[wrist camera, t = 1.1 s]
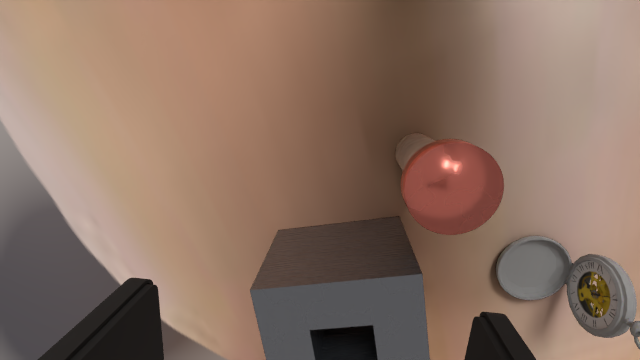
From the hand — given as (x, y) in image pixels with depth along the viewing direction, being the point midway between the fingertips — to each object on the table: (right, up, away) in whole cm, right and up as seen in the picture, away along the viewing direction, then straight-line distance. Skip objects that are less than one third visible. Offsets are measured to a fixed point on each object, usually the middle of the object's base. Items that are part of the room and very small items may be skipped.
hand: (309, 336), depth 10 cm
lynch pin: (+9, +7, +21) cm, 24 cm away
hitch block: (+3, -5, +25) cm, 26 cm away
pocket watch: (+22, -4, +23) cm, 32 cm away
